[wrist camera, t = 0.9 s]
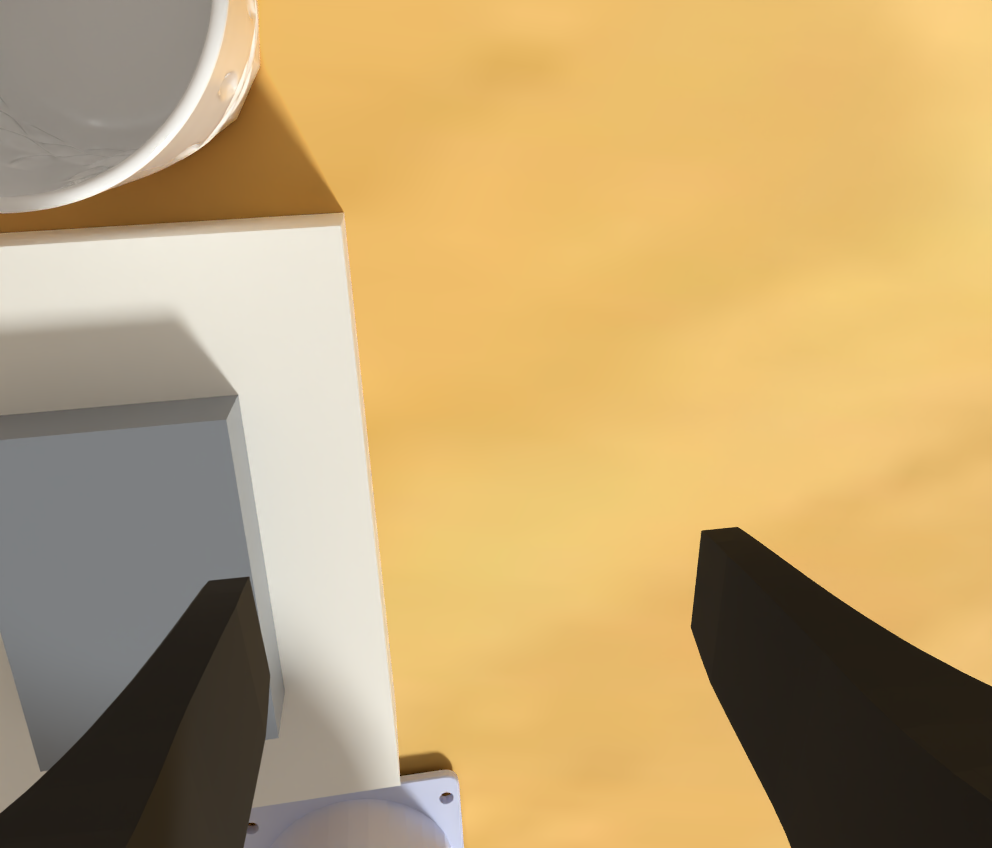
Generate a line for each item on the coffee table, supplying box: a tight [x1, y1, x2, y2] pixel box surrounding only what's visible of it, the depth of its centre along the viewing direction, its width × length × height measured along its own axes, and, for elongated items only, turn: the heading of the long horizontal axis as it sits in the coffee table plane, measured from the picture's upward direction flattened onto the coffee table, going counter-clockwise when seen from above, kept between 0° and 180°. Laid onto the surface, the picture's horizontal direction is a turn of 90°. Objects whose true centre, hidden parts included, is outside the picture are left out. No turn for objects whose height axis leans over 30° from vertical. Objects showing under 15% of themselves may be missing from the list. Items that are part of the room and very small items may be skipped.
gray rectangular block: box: [0, 395, 285, 772], centre depth 21 cm, size 9×6×2 cm, turn 2°
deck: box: [0, 212, 401, 813], centre depth 24 cm, size 17×12×4 cm
